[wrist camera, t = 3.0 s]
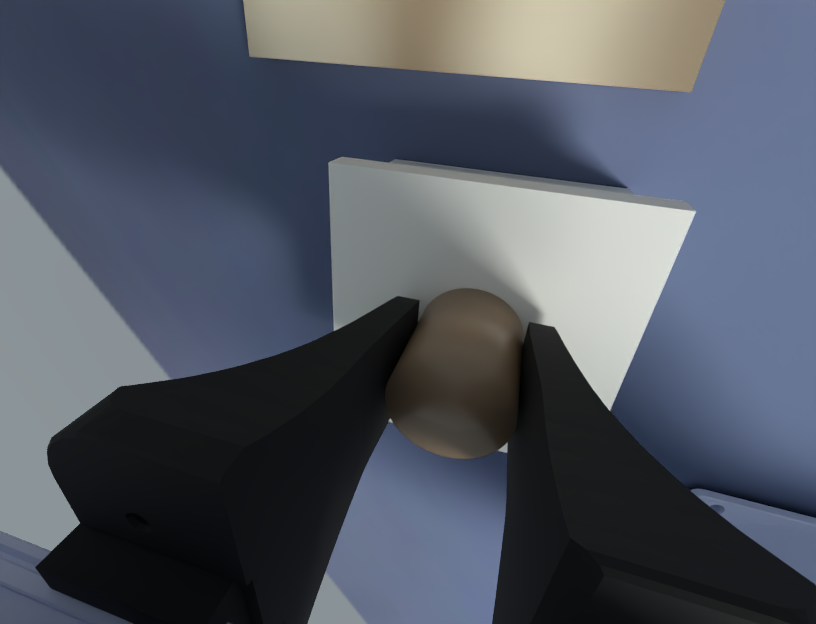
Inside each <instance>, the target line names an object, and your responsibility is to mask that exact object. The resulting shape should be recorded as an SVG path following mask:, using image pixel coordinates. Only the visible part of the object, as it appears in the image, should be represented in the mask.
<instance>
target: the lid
mask: <svg viewBox="0 0 816 624" xmlns="http://www.w3.org/2000/svg"><path fill="white" fill-rule="evenodd" d="M328 166H329V197H330V228H331V260H332V291H333V322H334V331H335V330H337V329H339V328H341V327H343V326H345V325H347V324H349V323H351V322H353V321H355V320H356V319H358V318H360V317H362V316H363V315H365V314H367V313H369V312H370V311H372V310H374V309H376V308H377V307H379V306H381V305H382V304H384V303H386V302H387V301H389V300H391V299H393V298H395V297H396V296H401V297H406V298H411V299H416V300H420V303H419V313H418V324H417V325H416V327H415V329H414V331H413V333H412V335H411V337H410V339H409V341H408V343H407V345H406V347H405V349H404V351H403V353H402V355H401V357H400V359H399V361H398V363H397V365H396V367H395V369H394V371H393V373H392V375H391V377H390V378H389V380H388V382H387V386H386V389H385V404H386V408H387V411H388V414H389V416H390V419H389V421H388V422H391V423H394V425H395V426H396V427H397V429H398V430H399V431H400V432H401V433H402V434H403V435H404V436H405V437H406V438H408V439H409V440H410V441H411V442H413V443H414V444H416V445H417V446H419V447H421V448H423V449H425V450H427V451H429V452H431V453H434V454H437V455H440V456H444V457H449V458H456V459H473V458H479V457H483V456H487V455H489V454H492V453H494V452H496V451H501V452H505V453H507V445H508V441H509V440H510V439H511V437H512V435H513V434H514V431H515V428H516V424H517V415H518V403H519V391H520V378H521V363H522V351H523V343H524V339H525V336H526V332H527V328H528V324H529V322H532V323H537V324H542V325H547V326H552V327H555V329H556V330H557V332H558V333H559V335H560V337H561V339H562V341H563V342H564V344H565V346H566V348H567V349H568V351H569V353H570V355H571V356H572V358H573V360H574V361H575V363H576V364H577V366H578V368H579V369H580V371H581V372H582V374H583V375H584V377H585V378H586V380H587V381H588V383H589V384H590V386H591V387H592V388H593V390H594V391H595V393H596V394H597V395H598V396H599V398H600V399H601V400H602V402H603V403H604V404H605V406H606V407H607V408H608V409H609V411H610V410H611V407H612V405H613V403H614V400H615V398H616V396H617V393H618V391H619V389H620V386H621V384H622V382H623V379H624V377H625V375H626V373H627V370H628V368H629V366H630V363H631V361H632V359H633V356H634V354H635V352H636V349H637V347H638V345H639V342H640V340H641V338H642V336H643V333H644V331H645V329H646V326H647V324H648V322H649V319H650V317H651V315H652V312H653V310H654V308H655V305H656V303H657V301H658V299H659V296H660V294H661V292H662V289H663V287H664V285H665V282H666V280H667V278H668V275H669V273H670V271H671V268H672V266H673V264H674V262H675V259H676V257H677V255H678V252H679V250H680V248H681V245H682V243H683V241H684V238H685V236H686V234H687V231H688V229H689V227H690V225H691V222H692V220H693V218H694V215H695V213H696V211H695V210H694V209H693V208H692V207H691V206H690V205H688V204H687V203H686V202H685V201H680V200H672V199H664V198H656V197H649V196H641V195H633V194H626V193H618V192H610V191H603V190H595V189H587V188H579V187H572V186H564V185H556V184H549V183H541V182H533V181H526V180H518V179H510V178H503V177H495V176H487V175H479V174H472V173H464V172H456V171H449V170H441V169H433V168H426V167H418V166H410V165H403V164H395V163H387V162H379V161H372V160H364V159H356V158H349V157H340V158H338V159H335V160H333V161H330V162H328Z"/></svg>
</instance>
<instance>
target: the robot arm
mask: <svg viewBox="0 0 816 624" xmlns="http://www.w3.org/2000/svg"><path fill="white" fill-rule="evenodd" d="M419 303H420V300H416V299H411V298H406V297H401V296H396V297H395V298H393V299H391V300H389V301H387V302H386V303H384V304H382V305H381V306H379V307H377V308H376V309H374V310H372V311H370V312H369V313H367V314H365V315H363V316H362V317H360V318H358V319H356V320H355V321H353V322H351V323H349V324H347V325H345V326H343V327H341V328H339V329H337V330H335V331H333V332H331V333H329V334H327V335H325V336H323V337H321V338H319V339H317V340H314V341H312V342H310V343H307V344H305V345H302V346H300V347H297V348H295V349H292V350H289V351H287V352H284V353H281V354H278V355H275V356H272V357H268V358H265V359H261V360H258V361H255V362H251V363H248V364H245V365H241V366H237V367H233V368H229V369H225V370H220V371H216V372H211V373H206V374H201V375H196V376H191V377H186V378H180V379H173V380H166V381H159V382H152V383H145V384H138V385H130V386H121V387H119V388H117V389H116V390H115V391H114V392H112V393H111V394H110V395H108V396H107V397H106V398H104V399H103V400H101V401H100V402H99V403H98V404H96V405H95V406H93V407H92V408H91V409H89V410H88V411H87V412H85V413H84V414H83V415H81V416H80V417H79V418H77V419H76V420H75V421H73V422H72V423H71V424H69V425H68V426H67V427H65V428H64V429H63V430H61V431H60V432H58V433H57V434H56V435H54V436H53V437H52V438H51V440H50V443H49V445H48V449H47V456H48V465H49V467H50V469H51V472H52V474H53V476H54V478H55V480H56V482H57V483H58V485H59V487H60V488H61V490H62V492H63V494H64V496H65V497H66V499H67V501H68V502H69V504H70V506H71V508H72V509H73V511H74V513H75V514H76V516H77V518H78V520H79V521H80V524H79V525H78V526H77V527H76V528H75V529H74V530H73V531H72V532H71V533H70V534H69V535H68V536H67V537H66V538H65V539H64V540H63V541H62V542H61V543H60V544H59V545H57V547H55V548H54V549H53V550H52V551H49V550H47V549H44V548H41V547H39V546H37V545H34V544H32V543H29V542H27V541H24V540H21V539H19V538H17V537H14V536H12V535H9V534H7V533H4V532H2V531H0V624H307V623H308V620H309V617H310V614H311V611H312V608H313V605H314V602H315V599H316V596H317V593H318V591H319V588H320V585H321V582H322V580H323V577H324V574H325V571H326V568H327V566H328V563H329V560H330V557H331V554H332V552H333V549H334V546H335V543H336V541H337V538H338V535H339V533H340V530H341V527H342V525H343V522H344V519H345V517H346V514H347V511H348V509H349V506H350V504H351V501H352V498H353V496H354V493H355V491H356V488H357V486H358V483H359V481H360V478H361V476H362V473H363V471H364V469H365V467H366V464H367V462H368V460H369V458H370V456H371V454H372V452H373V450H374V448H375V446H376V445H377V443H378V441H379V439H380V437H381V435H382V433H383V431H384V429H385V427H386V425H387V423H388V421H389V419H390V416H389V414H388V411H387V408H386V404H385V389H386V386H387V382H388V380H389V378H390V377H391V375H392V373H393V371H394V369H395V367H396V365H397V363H398V361H399V359H400V357H401V355H402V353H403V351H404V349H405V347H406V345H407V343H408V341H409V339H410V337H411V335H412V333H413V331H414V329H415V327H416V325H417V324H418V313H419ZM492 624H816V518H813V517H810V516H806V515H802V514H798V513H794V512H790V511H786V510H782V509H778V508H775V507H771V506H767V505H763V504H759V503H755V502H751V501H747V500H743V499H740V498H736V497H732V496H728V495H724V494H720V493H716V492H712V491H708V490H705V489H692V490H689V489H688V488H687V487H686V486H684V485H683V484H682V483H681V482H680V481H679V480H677V479H676V478H675V477H674V476H673V475H672V474H671V473H670V472H669V471H668V470H667V469H665V468H664V467H663V466H662V465H661V464H660V463H659V462H658V461H657V460H656V459H655V458H654V457H653V456H651V455H650V454H649V453H648V452H647V451H646V450H645V449H644V448H643V447H642V446H641V445H640V444H639V443H638V442H637V441H636V440H635V438H634V437H633V436H632V435H631V434H630V433H629V432H628V431H627V430H626V429H625V428H624V426H623V425H622V424H621V423H620V422H619V421H618V420H617V419H616V418H615V416H614V415H613V414H612V413H611V412H610V411H609V409H608V408H607V407H606V406H605V404H604V403H603V402H602V400H601V399H600V398H599V396H598V395H597V394H596V393H595V391H594V390H593V388H592V387H591V386H590V384H589V383H588V381H587V380H586V378H585V377H584V375H583V374H582V372H581V371H580V369H579V368H578V366H577V364H576V363H575V361H574V360H573V358H572V356H571V355H570V353H569V351H568V349H567V348H566V346H565V344H564V342H563V341H562V339H561V337H560V335H559V333H558V332H557V330H556V329H555V327H552V326H547V325H542V324H537V323H532V322H529V324H528V328H527V332H526V336H525V339H524V343H523V351H522V363H521V378H520V391H519V403H518V415H517V424H516V428H515V431H514V434H513V435H512V437H511V439H510V440H509V441H508V445H507V500H506V516H505V525H504V533H503V542H502V550H501V559H500V567H499V575H498V583H497V591H496V599H495V606H494V614H493V621H492Z"/></svg>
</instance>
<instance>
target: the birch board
mask: <svg viewBox="0 0 816 624" xmlns="http://www.w3.org/2000/svg"><path fill="white" fill-rule="evenodd" d="M724 2H725V0H243V3H244V12H245V21H246V30H247V39H248V48H249V56H250V57H260V58H272V59H285V60H297V61H310V62H322V63H334V64H347V65H359V66H371V67H384V68H396V69H408V70H421V71H433V72H445V73H458V74H470V75H483V76H495V77H507V78H520V79H532V80H544V81H557V82H569V83H581V84H594V85H606V86H619V87H631V88H643V89H656V90H668V91H680V92H691V91H692V89H693V86H694V83H695V81H696V78H697V75H698V73H699V70H700V67H701V64H702V62H703V59H704V56H705V54H706V51H707V48H708V46H709V43H710V40H711V37H712V35H713V32H714V29H715V27H716V24H717V21H718V19H719V16H720V13H721V10H722V8H723V5H724Z"/></svg>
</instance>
